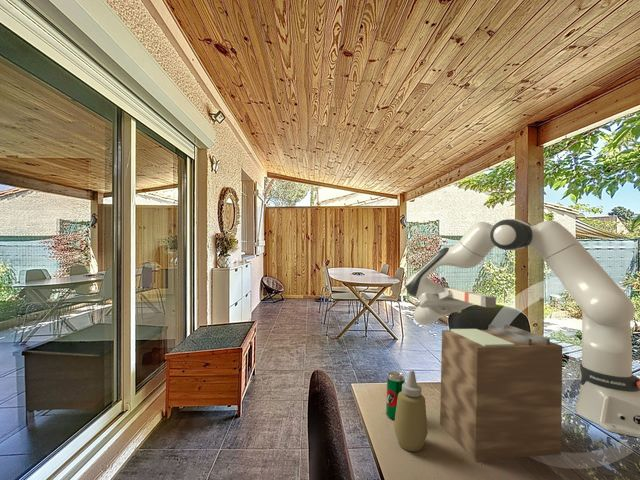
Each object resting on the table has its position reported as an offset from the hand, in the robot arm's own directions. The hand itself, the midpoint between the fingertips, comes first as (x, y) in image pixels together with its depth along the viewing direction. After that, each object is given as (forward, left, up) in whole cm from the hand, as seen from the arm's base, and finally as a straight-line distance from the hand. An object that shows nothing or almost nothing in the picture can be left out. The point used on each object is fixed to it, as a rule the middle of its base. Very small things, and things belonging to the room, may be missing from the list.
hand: (456, 292), depth 109 cm
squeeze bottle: (+2, +41, -34) cm, 53 cm away
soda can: (+10, +31, -34) cm, 47 cm away
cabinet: (-15, +24, -34) cm, 44 cm away
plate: (-12, +27, -8) cm, 31 cm away
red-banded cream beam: (-4, +4, -2) cm, 7 cm away
